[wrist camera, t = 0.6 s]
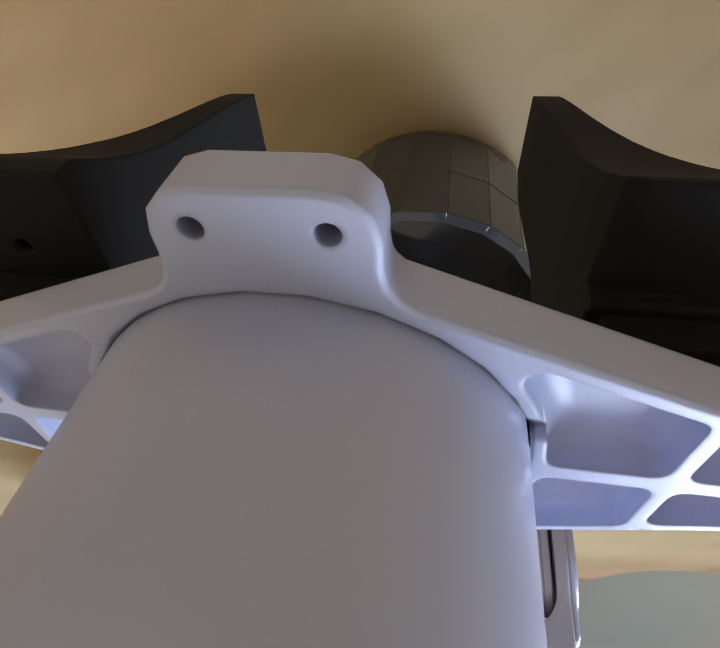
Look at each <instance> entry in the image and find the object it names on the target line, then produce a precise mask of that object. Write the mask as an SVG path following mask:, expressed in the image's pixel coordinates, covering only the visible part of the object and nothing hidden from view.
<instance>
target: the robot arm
mask: <svg viewBox="0 0 720 648" xmlns="http://www.w3.org/2000/svg"><path fill="white" fill-rule="evenodd" d="M517 173H518V205H519V211H520V216H521V222H522V227H523V233H524V238H525V243H526V249H527V254H528V259H529V266H530V274H531V294H532V302H529V301H526V300H524V299H521V298H518V297H515V296H512V295H509V294H506V293H503V292H500V291H497V290H494V289H491V288H489V287H486V286H483V285H480V284H477V283H474V282H471V281H468V280H465V279H462V278H459V277H457V276H454V275H451V274H448V273H445V272H442V271H439V270H436V269H433V268H430V267H427V266H424V265H422V264H419V263H416V262H413V261H410V260H407V259H405V258H404V257H403V256H402V255H401V254H399V253H398V252H397V251H396V249H395V247H394V245H393V243H392V237H391V209H390V203H389V200H388V197H387V194H386V191H385V188H384V184H383V181H382V180H380V179H379V178H378V177H377V176H376V175H375V174H374V173H373V172H372V171H371V170H370V169H368V168H367V167H366V166H365V165H364V164H363V163H362V162H361V161H358V160H354V159H351V158H347V157H343V156H340V155H336V154H332V153H309V152H272V151H266V148H265V143H264V138H263V133H262V128H261V124H260V119H259V114H258V109H257V105H256V100H255V95H254V94H228V95H224V96H221V97H218V98H216V99H213V100H211V101H208V102H206V103H204V104H201V105H199V106H197V107H195V108H192V109H190V110H188V111H186V112H183V113H181V114H179V115H177V116H174V117H172V118H169V119H167V120H165V121H162V122H160V123H157V124H155V125H152V126H150V127H147V128H144V129H142V130H139V131H136V132H133V133H129V134H126V135H123V136H119V137H116V138H112V139H108V140H103V141H99V142H94V143H89V144H85V145H80V146H75V147H69V148H62V149H55V150H47V151H38V152H28V153H13V154H0V439H1V440H5V441H9V442H13V443H17V444H21V445H25V446H29V447H32V448H36V449H40V450H43V452H42V453H41V455H40V456H39V458H38V459H37V461H36V462H35V464H34V466H33V467H32V469H31V470H30V472H29V473H28V475H27V476H26V478H25V479H24V481H23V482H22V484H21V485H20V487H19V489H18V490H17V492H16V493H15V495H14V496H13V498H12V499H11V501H10V502H9V504H8V505H7V507H6V508H5V510H4V511H3V513H2V515H1V516H0V648H578V647H579V646H580V642H581V636H580V627H579V618H578V609H579V591H578V576H577V565H576V556H575V547H574V539H573V532H572V530H703V531H720V169H714V168H710V167H705V166H701V165H697V164H693V163H690V162H686V161H683V160H680V159H676V158H673V157H670V156H667V155H664V154H661V153H658V152H656V151H653V150H651V149H649V148H646V147H644V146H641V145H639V144H637V143H635V142H633V141H631V140H629V139H627V138H625V137H623V136H621V135H619V134H618V133H616V132H614V131H612V130H611V129H609V128H607V127H606V126H604V125H603V124H601V123H599V122H598V121H596V120H595V119H593V118H592V117H591V116H589V115H588V114H586V113H585V112H583V111H582V110H581V109H579V108H578V107H576V106H575V105H573V104H572V103H570V102H569V101H567V100H566V99H564V98H562V97H551V96H533V99H532V104H531V109H530V114H529V119H528V123H527V128H526V133H525V138H524V143H523V148H522V153H521V158H520V162H519V167H518V172H517ZM545 617H546V618H547V619H546V620H545V619H544V618H545Z"/></svg>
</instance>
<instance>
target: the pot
mask: <svg viewBox="0 0 720 648" xmlns="http://www.w3.org/2000/svg"><path fill="white" fill-rule="evenodd" d="M356 160H358V161H361V162H362V163H363V164H364V165H365V166H366V167H367V168H368V169H370V170H371V171H372V172H373V173H374V174H375V175H376V176H377V177H378V178H379V179H380V180H382V181H383V184H384V188H385V191H386V194H387V197H388V200H389V203H390V209H391V237H392V243H393V245H394V247H395V249H396V251H397V252H398V253H399V254H401V255H402V256H403V257H404V258H405V259H407V260H410V261H413V262H416V263H419V264H422V265H424V266H427V267H430V268H433V269H436V270H439V271H442V272H445V273H448V274H451V275H454V276H457V277H459V278H462V279H465V280H468V281H471V282H474V283H477V284H480V285H483V286H486V287H489V288H491V289H494V290H497V291H500V292H503V293H506V294H509V295H512V296H515V297H518V298H521V299H524V300H526V301H529V302H532V294H531V274H530V266H529V259H528V254H527V249H526V243H525V238H524V233H523V227H522V222H521V216H520V211H519V205H518V173H517V172H518V171H517V170H516V168H515V167H514V166H513V165H512V164H511V163H510V162H509V161H508V160H507V159H506V158H505V157H504V156H503V155H501V154H500V153H498V152H497V151H495V150H494V149H493V148H491V147H489V146H487V145H485V144H483V143H481V142H479V141H477V140H474V139H471V138H468V137H465V136H462V135H457V134H452V133H444V132H418V133H412V134H406V135H402V136H399V137H395V138H392V139H389V140H387V141H385V142H382V143H380V144H378V145H376V146H374V147H373V148H371V149H370V150H368V151H366V152H365V153H363V154H362V155H361V156H360V157H359V158H358V159H356Z"/></svg>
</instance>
